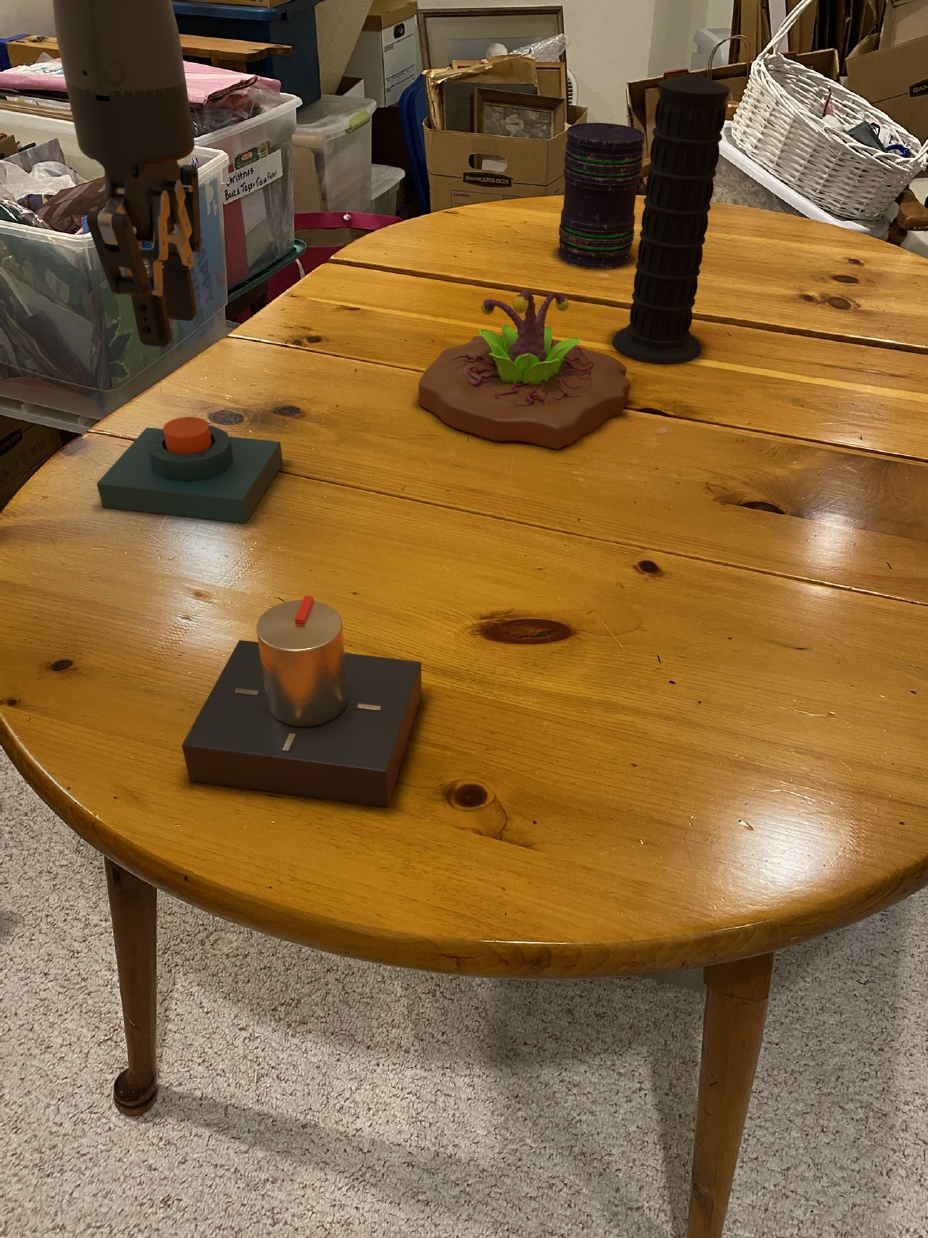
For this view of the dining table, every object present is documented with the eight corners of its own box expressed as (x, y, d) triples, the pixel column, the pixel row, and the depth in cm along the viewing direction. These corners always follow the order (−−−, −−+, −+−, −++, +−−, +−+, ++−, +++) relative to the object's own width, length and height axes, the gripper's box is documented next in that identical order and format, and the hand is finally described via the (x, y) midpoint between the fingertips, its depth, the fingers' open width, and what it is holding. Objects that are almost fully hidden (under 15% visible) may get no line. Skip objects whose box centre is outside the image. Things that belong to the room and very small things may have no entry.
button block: (102, 507, 83) (91, 462, 80) (151, 449, 90) (142, 407, 88) (245, 523, 82) (239, 479, 79) (283, 464, 90) (278, 422, 87)
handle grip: (616, 361, 110) (708, 365, 110) (649, 81, 93) (758, 87, 93) (608, 326, 118) (694, 329, 118) (638, 60, 100) (738, 66, 101)
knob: (338, 731, 60) (331, 650, 56) (257, 723, 60) (245, 641, 56) (355, 678, 64) (349, 599, 60) (279, 671, 64) (268, 591, 60)
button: (159, 454, 83) (155, 434, 82) (176, 433, 85) (173, 414, 84) (202, 458, 82) (199, 439, 81) (218, 438, 85) (215, 418, 84)
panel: (189, 781, 61) (180, 742, 58) (244, 674, 68) (238, 637, 66) (388, 807, 60) (386, 769, 58) (421, 696, 67) (421, 659, 65)
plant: (385, 413, 98) (381, 295, 91) (476, 344, 112) (479, 237, 104) (578, 464, 92) (590, 343, 85) (649, 385, 106) (665, 274, 99)
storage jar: (624, 273, 131) (639, 145, 122) (550, 263, 133) (559, 136, 123) (636, 249, 139) (650, 127, 129) (565, 240, 140) (574, 119, 130)
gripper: (116, 49, 72) (159, 293, 83) (15, 90, 61) (80, 364, 73) (219, 58, 72) (248, 302, 83) (135, 101, 61) (182, 374, 72)
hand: (169, 329), depth 78 cm, fingers open, 4 cm apart
